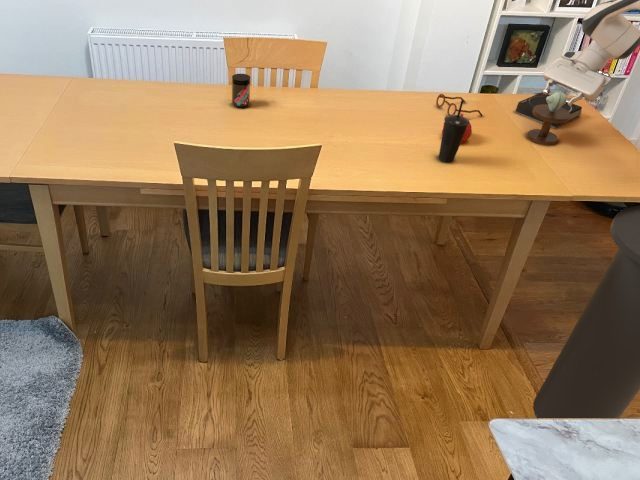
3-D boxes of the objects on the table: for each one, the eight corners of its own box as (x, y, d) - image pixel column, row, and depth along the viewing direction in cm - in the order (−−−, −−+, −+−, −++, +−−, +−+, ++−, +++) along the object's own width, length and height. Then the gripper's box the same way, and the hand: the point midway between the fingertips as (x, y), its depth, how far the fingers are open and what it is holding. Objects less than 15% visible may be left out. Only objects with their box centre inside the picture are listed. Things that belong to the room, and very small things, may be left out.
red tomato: (457, 130, 208) (464, 105, 202) (474, 143, 201) (482, 117, 195) (434, 134, 205) (440, 108, 199) (450, 147, 198) (457, 121, 192)
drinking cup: (460, 165, 188) (478, 106, 175) (437, 164, 188) (453, 105, 175) (454, 154, 194) (471, 95, 181) (431, 153, 194) (446, 94, 181)
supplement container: (230, 107, 215) (230, 79, 208) (233, 100, 220) (233, 72, 213) (248, 109, 215) (249, 81, 208) (250, 102, 220) (251, 74, 213)
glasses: (434, 104, 224) (437, 92, 221) (464, 102, 227) (468, 89, 224) (451, 119, 215) (455, 106, 211) (482, 116, 217) (486, 103, 214)
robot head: (542, 113, 197) (549, 94, 193) (538, 108, 200) (545, 89, 196) (566, 114, 197) (574, 95, 193) (561, 109, 200) (569, 90, 196)
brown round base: (567, 142, 204) (578, 115, 197) (543, 149, 199) (554, 121, 193) (539, 128, 212) (550, 101, 205) (516, 134, 207) (526, 107, 200)
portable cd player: (556, 128, 212) (560, 118, 209) (515, 112, 222) (518, 102, 219) (579, 117, 220) (583, 107, 217) (538, 102, 230) (541, 92, 227)
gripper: (616, 82, 188) (583, 116, 191) (564, 60, 202) (534, 93, 204) (613, 70, 184) (580, 105, 186) (560, 49, 197) (530, 82, 200)
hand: (555, 98), depth 196 cm, fingers open, 8 cm apart
